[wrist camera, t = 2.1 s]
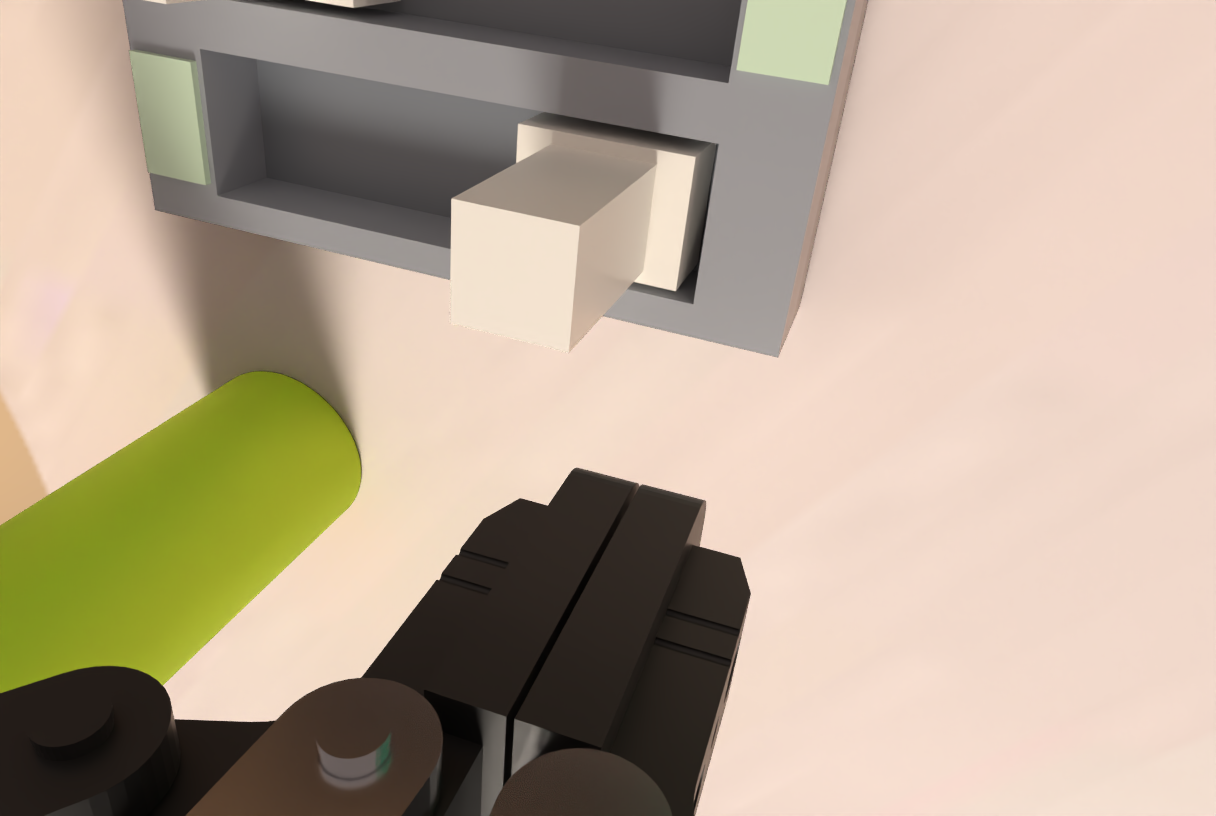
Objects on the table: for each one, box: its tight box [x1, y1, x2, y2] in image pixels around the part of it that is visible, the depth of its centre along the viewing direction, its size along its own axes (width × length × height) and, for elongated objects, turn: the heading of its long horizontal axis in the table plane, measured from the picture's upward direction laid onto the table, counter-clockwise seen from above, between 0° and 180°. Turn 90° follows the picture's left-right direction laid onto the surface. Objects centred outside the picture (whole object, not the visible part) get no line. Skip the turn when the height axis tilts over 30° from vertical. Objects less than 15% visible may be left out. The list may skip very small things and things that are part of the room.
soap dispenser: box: [0, 371, 361, 693], centre depth 23 cm, size 6×7×20 cm
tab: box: [450, 112, 717, 353], centre depth 19 cm, size 4×3×7 cm
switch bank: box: [123, 0, 868, 357], centre depth 21 cm, size 17×10×3 cm, turn 84°
